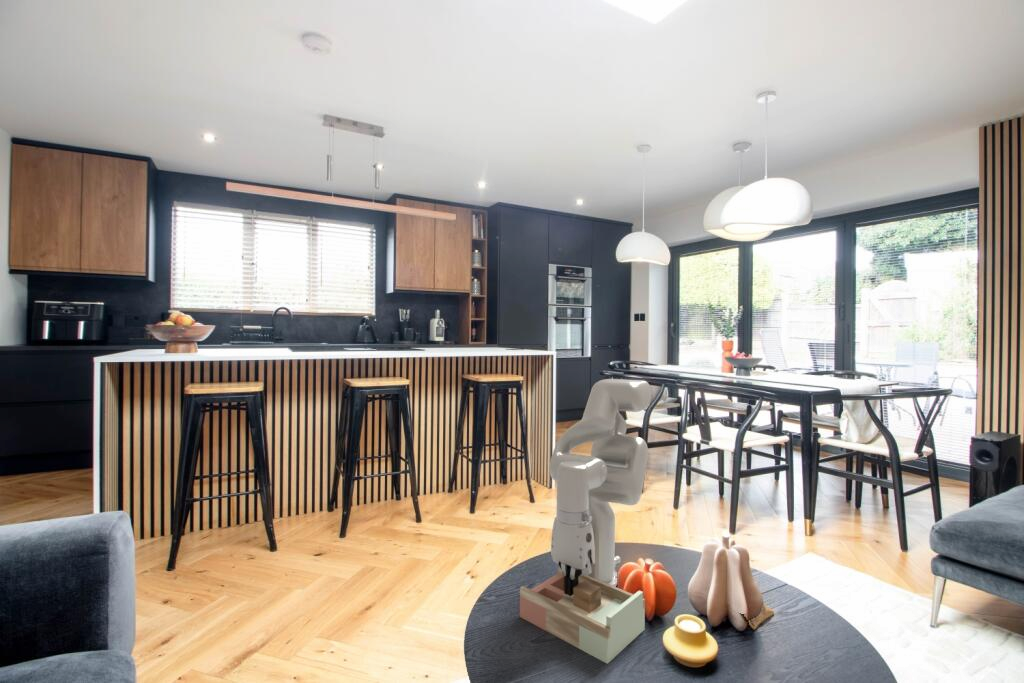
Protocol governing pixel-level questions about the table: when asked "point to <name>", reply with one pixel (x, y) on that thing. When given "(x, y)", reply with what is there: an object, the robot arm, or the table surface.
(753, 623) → the shard
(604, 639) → the box
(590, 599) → the walnut block
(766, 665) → the table surface
